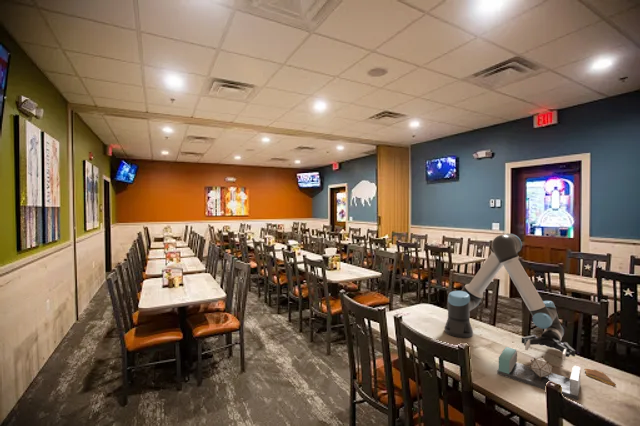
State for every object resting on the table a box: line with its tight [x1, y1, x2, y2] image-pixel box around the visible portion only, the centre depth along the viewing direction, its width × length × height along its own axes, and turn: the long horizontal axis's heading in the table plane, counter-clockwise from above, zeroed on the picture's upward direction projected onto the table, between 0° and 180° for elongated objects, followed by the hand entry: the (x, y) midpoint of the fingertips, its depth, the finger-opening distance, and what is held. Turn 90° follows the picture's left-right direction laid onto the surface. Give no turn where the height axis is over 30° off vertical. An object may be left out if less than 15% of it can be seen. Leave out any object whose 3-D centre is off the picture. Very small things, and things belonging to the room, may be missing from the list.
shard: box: [584, 368, 617, 387], centre depth 134 cm, size 11×8×2 cm
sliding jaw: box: [498, 346, 518, 374], centre depth 141 cm, size 14×4×6 cm, turn 137°
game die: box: [529, 355, 555, 379], centre depth 133 cm, size 9×8×10 cm
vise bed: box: [496, 362, 581, 401], centre depth 133 cm, size 14×28×8 cm, turn 47°
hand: (544, 352), depth 139 cm, fingers open, 13 cm apart
